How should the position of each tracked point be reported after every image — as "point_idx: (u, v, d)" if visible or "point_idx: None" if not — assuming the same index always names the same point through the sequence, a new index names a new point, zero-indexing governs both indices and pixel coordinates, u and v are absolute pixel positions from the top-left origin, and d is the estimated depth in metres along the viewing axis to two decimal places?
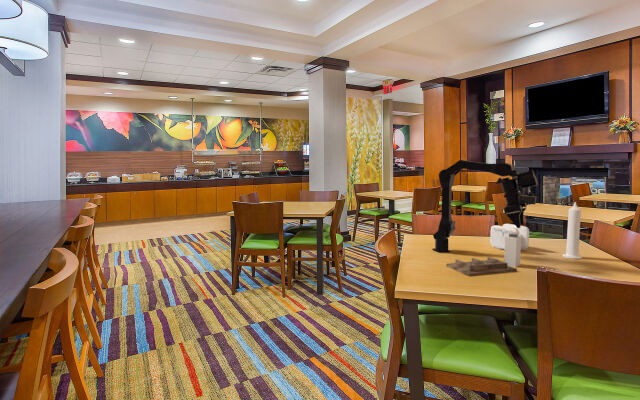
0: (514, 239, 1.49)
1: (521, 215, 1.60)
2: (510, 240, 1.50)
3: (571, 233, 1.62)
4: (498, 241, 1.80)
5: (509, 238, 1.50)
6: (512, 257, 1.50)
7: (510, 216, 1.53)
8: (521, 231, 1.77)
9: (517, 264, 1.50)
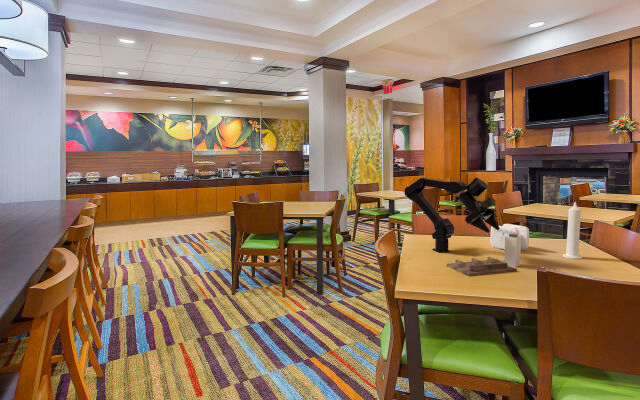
0: (514, 239, 1.49)
1: (493, 221, 1.62)
2: (510, 240, 1.50)
3: (571, 233, 1.62)
4: (498, 241, 1.80)
5: (509, 238, 1.50)
6: (512, 257, 1.50)
7: (475, 224, 1.57)
8: (521, 231, 1.77)
9: (517, 264, 1.50)
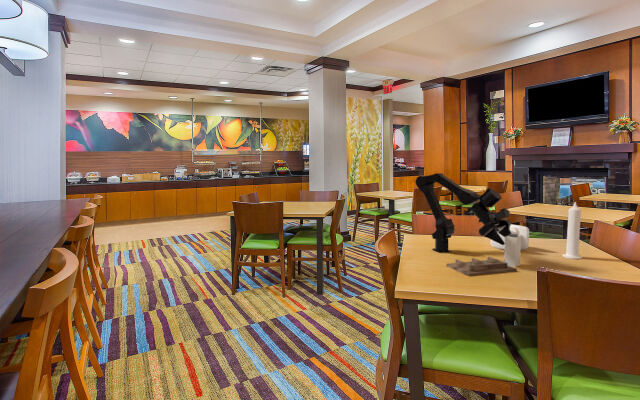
0: (514, 239, 1.49)
1: (508, 232, 1.57)
2: (510, 240, 1.50)
3: (571, 233, 1.62)
4: None
5: (509, 238, 1.50)
6: (512, 257, 1.50)
7: (489, 236, 1.52)
8: (521, 231, 1.77)
9: (517, 264, 1.50)
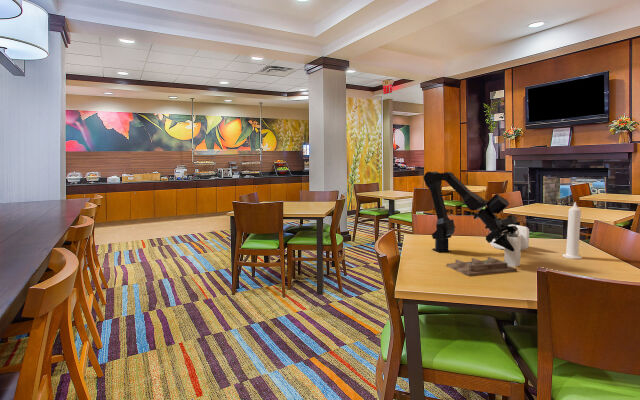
0: (514, 239, 1.49)
1: None
2: (510, 240, 1.50)
3: (571, 233, 1.62)
4: None
5: (509, 238, 1.50)
6: (512, 257, 1.50)
7: (499, 243, 1.52)
8: (521, 231, 1.77)
9: (517, 264, 1.50)
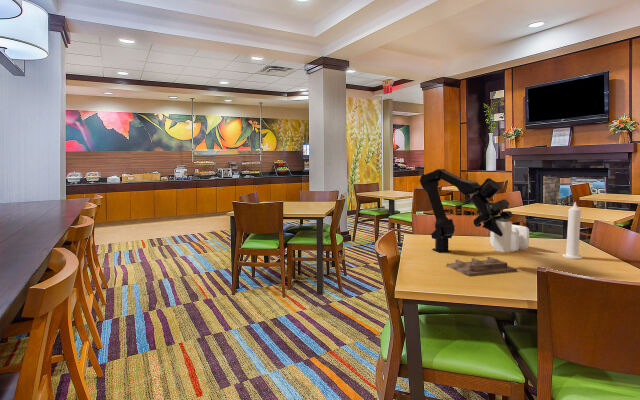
0: (503, 224, 1.46)
1: None
2: (499, 225, 1.47)
3: (571, 233, 1.62)
4: None
5: (498, 223, 1.47)
6: (500, 242, 1.47)
7: (488, 227, 1.50)
8: (521, 231, 1.77)
9: (506, 249, 1.47)
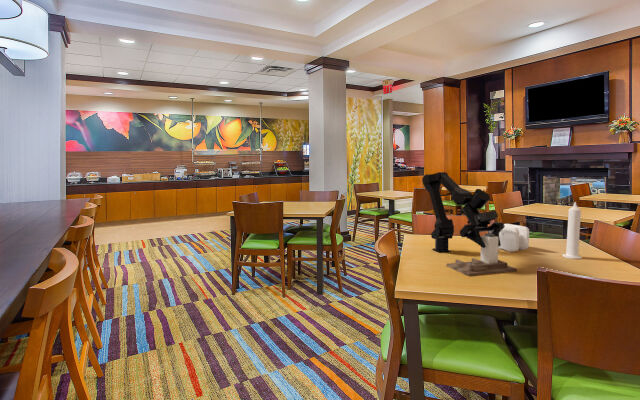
0: (487, 239, 1.45)
1: None
2: (484, 239, 1.47)
3: (571, 233, 1.62)
4: None
5: (484, 237, 1.47)
6: (486, 257, 1.46)
7: (472, 238, 1.49)
8: (521, 231, 1.77)
9: None
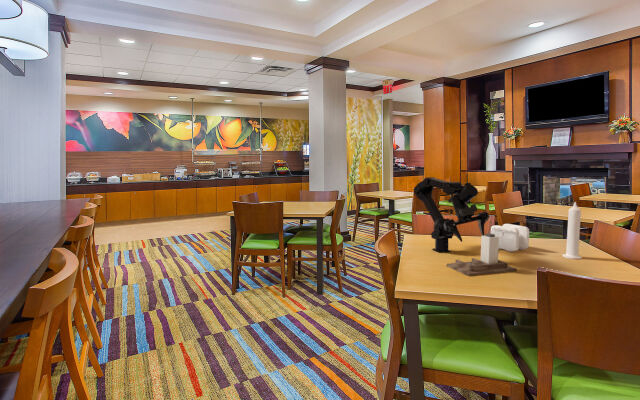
0: (488, 239, 1.45)
1: (480, 227, 1.57)
2: (485, 239, 1.47)
3: (571, 233, 1.62)
4: None
5: (484, 237, 1.47)
6: (486, 257, 1.46)
7: (453, 231, 1.61)
8: (521, 231, 1.77)
9: None
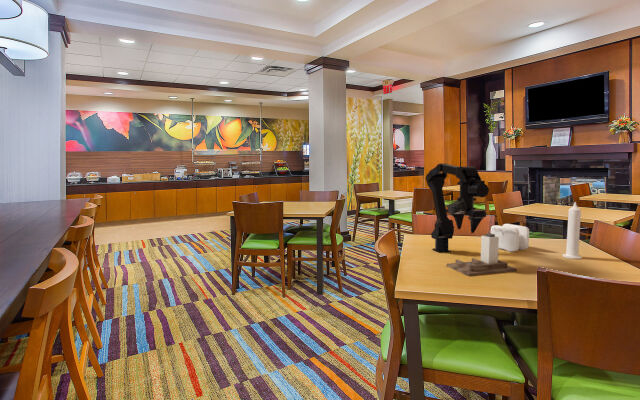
0: (488, 239, 1.45)
1: None
2: (485, 239, 1.47)
3: (571, 233, 1.62)
4: None
5: (484, 237, 1.47)
6: (486, 257, 1.46)
7: None
8: (521, 231, 1.77)
9: None
